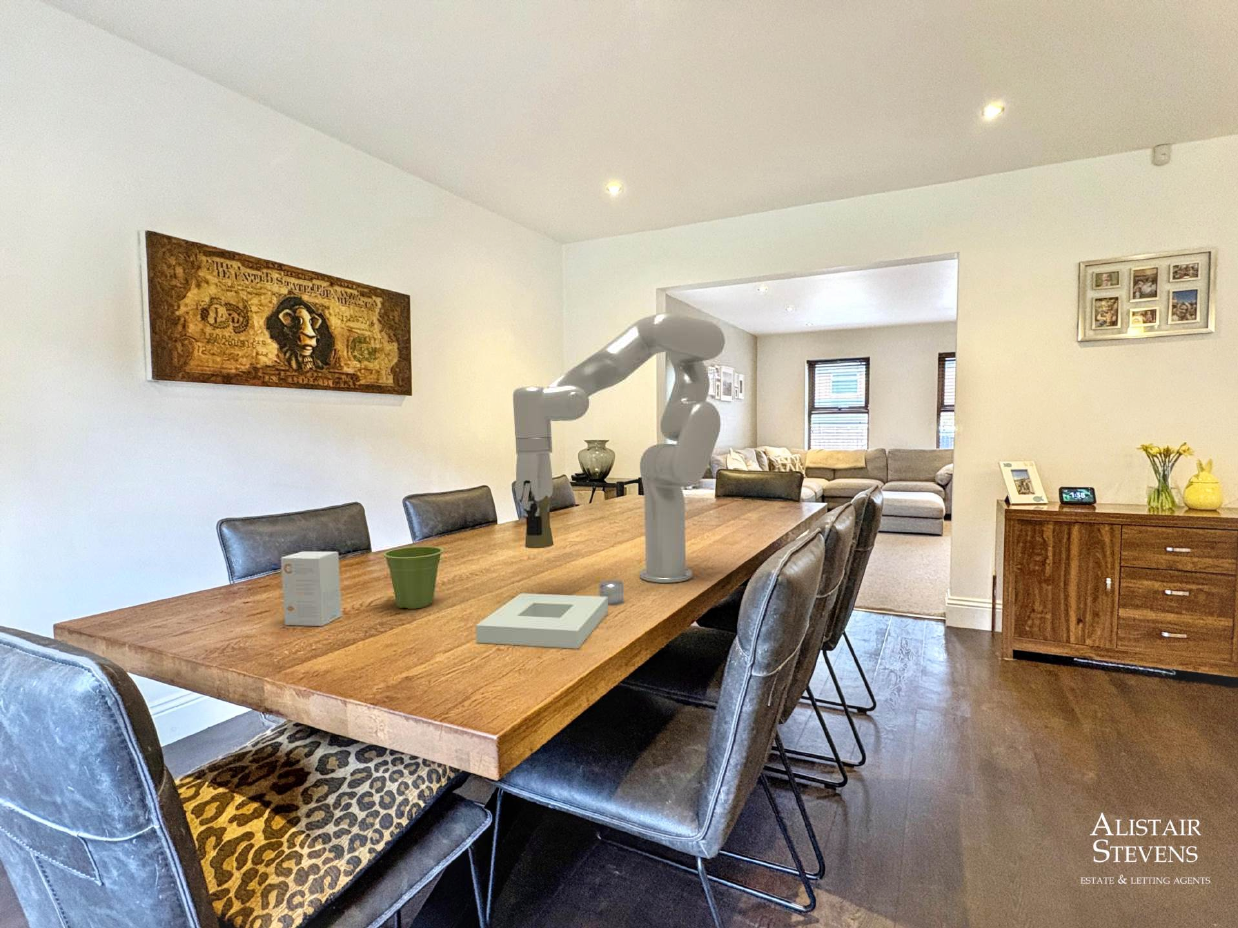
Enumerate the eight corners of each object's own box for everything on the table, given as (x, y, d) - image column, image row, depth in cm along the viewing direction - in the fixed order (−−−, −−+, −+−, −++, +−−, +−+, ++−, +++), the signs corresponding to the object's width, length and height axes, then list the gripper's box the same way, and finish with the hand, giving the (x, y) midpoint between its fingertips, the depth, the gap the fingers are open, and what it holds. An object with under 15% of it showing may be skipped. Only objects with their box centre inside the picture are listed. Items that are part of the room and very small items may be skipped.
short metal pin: (602, 598, 130) (602, 579, 129) (625, 599, 128) (625, 580, 128) (596, 605, 125) (596, 585, 125) (620, 606, 124) (620, 586, 123)
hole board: (521, 607, 124) (520, 593, 123) (607, 611, 120) (607, 596, 119) (476, 642, 104) (475, 625, 104) (578, 648, 100) (577, 630, 100)
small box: (342, 616, 121) (339, 551, 120) (322, 626, 115) (318, 558, 114) (306, 615, 122) (302, 550, 121) (283, 625, 116) (279, 557, 115)
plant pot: (407, 616, 120) (405, 559, 119) (374, 607, 127) (371, 553, 126) (457, 602, 129) (455, 549, 128) (423, 593, 136) (421, 543, 136)
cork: (556, 542, 133) (553, 491, 132) (550, 548, 127) (547, 495, 126) (528, 542, 133) (526, 492, 132) (521, 548, 127) (518, 496, 126)
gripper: (531, 445, 137) (536, 525, 139) (500, 449, 121) (506, 541, 122) (563, 443, 136) (567, 525, 137) (536, 448, 119) (541, 541, 121)
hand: (538, 532), depth 130 cm, fingers closed on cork, 4 cm apart
